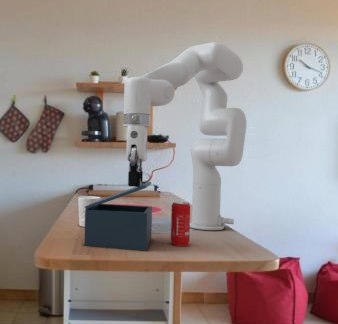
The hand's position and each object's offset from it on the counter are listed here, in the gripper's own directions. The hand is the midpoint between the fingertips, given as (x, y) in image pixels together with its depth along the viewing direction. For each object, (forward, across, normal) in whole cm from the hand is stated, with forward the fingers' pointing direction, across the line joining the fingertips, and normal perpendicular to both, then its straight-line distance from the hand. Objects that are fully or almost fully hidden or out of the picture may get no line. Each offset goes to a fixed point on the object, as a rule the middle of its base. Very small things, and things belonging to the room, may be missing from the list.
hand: (135, 184), depth 111 cm
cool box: (+17, 0, +4) cm, 17 cm away
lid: (+3, 0, +4) cm, 6 cm away
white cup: (+17, +22, +19) cm, 34 cm away
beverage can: (+17, +4, -13) cm, 22 cm away
